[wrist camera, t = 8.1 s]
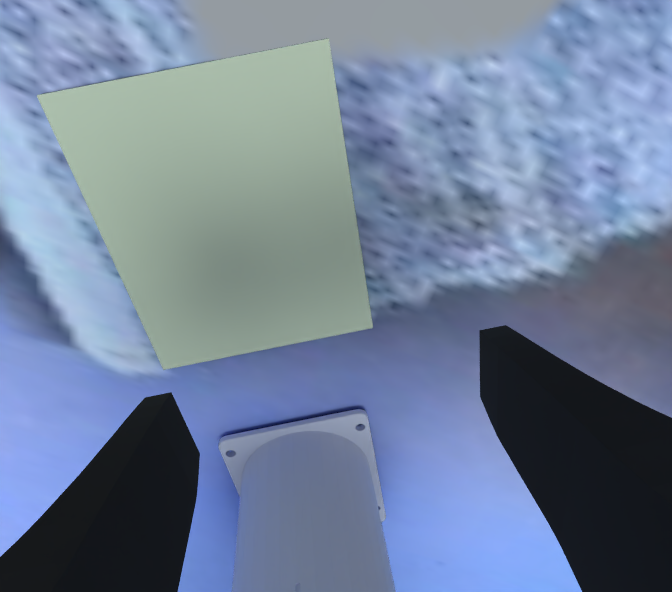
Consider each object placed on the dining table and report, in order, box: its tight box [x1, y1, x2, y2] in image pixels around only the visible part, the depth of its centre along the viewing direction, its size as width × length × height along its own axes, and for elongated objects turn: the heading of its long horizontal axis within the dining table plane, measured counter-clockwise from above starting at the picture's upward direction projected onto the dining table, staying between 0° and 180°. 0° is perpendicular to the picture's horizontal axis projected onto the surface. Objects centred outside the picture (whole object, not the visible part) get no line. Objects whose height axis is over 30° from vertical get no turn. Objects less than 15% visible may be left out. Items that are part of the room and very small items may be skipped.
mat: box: [37, 38, 373, 370], centre depth 19 cm, size 12×10×1 cm
